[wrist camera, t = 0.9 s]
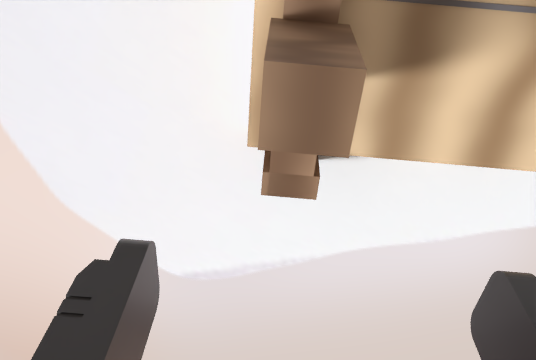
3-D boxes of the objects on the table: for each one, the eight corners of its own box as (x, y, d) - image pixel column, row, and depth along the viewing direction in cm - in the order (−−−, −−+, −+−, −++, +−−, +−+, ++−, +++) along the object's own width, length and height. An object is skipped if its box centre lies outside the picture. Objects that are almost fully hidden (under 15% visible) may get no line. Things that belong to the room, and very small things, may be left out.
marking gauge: (346, -24, 25) (375, 30, 16) (316, 163, 32) (324, 272, 23) (276, -30, 25) (266, 20, 16) (262, 159, 32) (249, 266, 23)
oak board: (637, -72, 23) (672, -67, 21) (529, 153, 31) (546, 173, 29) (263, -105, 23) (260, -103, 21) (250, 128, 31) (247, 147, 29)
